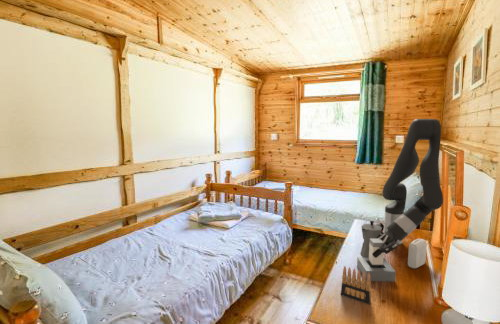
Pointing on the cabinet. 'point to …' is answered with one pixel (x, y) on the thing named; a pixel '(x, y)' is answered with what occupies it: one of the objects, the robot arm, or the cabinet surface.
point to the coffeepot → (369, 236)
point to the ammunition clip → (356, 286)
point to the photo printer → (417, 253)
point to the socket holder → (376, 270)
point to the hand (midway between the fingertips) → (371, 253)
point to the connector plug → (373, 246)
